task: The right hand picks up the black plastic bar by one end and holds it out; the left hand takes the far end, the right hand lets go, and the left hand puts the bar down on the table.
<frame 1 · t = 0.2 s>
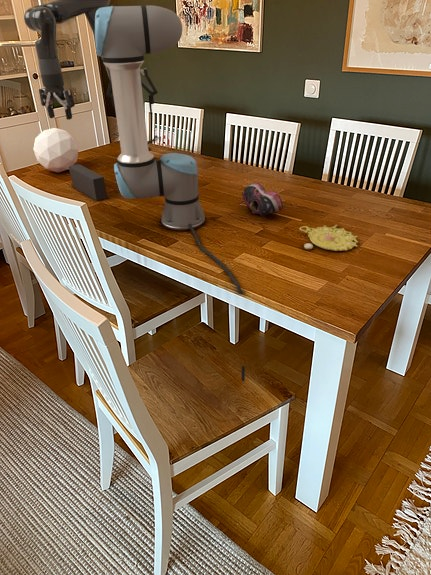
left hand: (60, 118, 170), 29 cm above the table, tool pointing down, fingers open, 8 cm apart
right hand: (134, 114, 180), 28 cm above the table, tool pointing down, fingers open, 13 cm apart
decorative object: (328, 239, 142), on the table
sphere: (60, 170, 210), on the table
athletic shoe: (257, 211, 163), on the table
bar: (89, 192, 184), on the table
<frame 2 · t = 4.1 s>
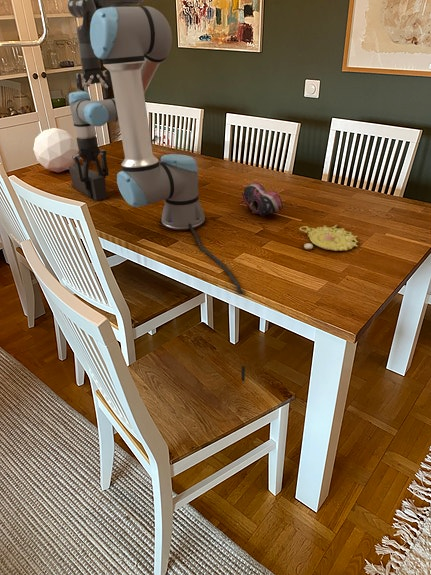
left hand: (96, 99, 185), 32 cm above the table, tool pointing down, fingers open, 8 cm apart
right hand: (96, 195, 179), 1 cm above the table, tool pointing down, fingers closed on bar, 5 cm apart
bar: (89, 192, 184), on the table, touching right hand
everything else where it was.
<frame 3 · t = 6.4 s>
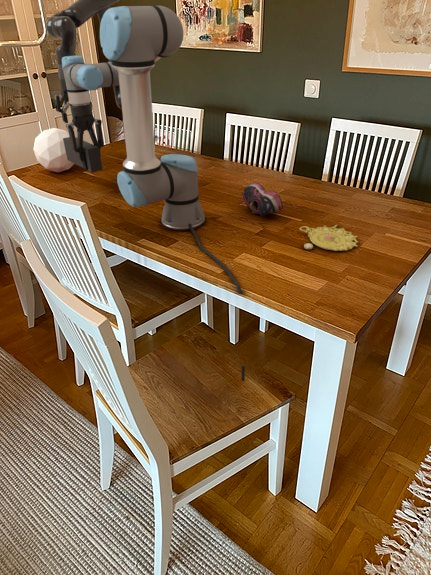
left hand: (76, 121, 178), 26 cm above the table, tool pointing down, fingers open, 8 cm apart
right hand: (91, 167, 173), 12 cm above the table, tool pointing down, fingers closed on bar, 5 cm apart
bar: (84, 164, 178), point 12 cm above the table, touching right hand
everything else where it was.
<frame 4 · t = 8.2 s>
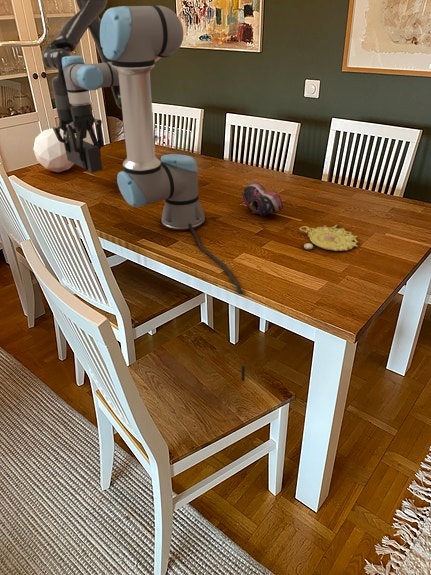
left hand: (74, 150, 181), 16 cm above the table, tool pointing down, fingers closed on bar, 4 cm apart
right hand: (91, 167, 173), 12 cm above the table, tool pointing down, fingers closed on bar, 5 cm apart
bar: (84, 164, 178), point 11 cm above the table, touching right hand, left hand
everything else where it was.
when the right hand's fingers open (12 cm above the table, at t = 8.9 s): bar stays where it is, held by the left hand.
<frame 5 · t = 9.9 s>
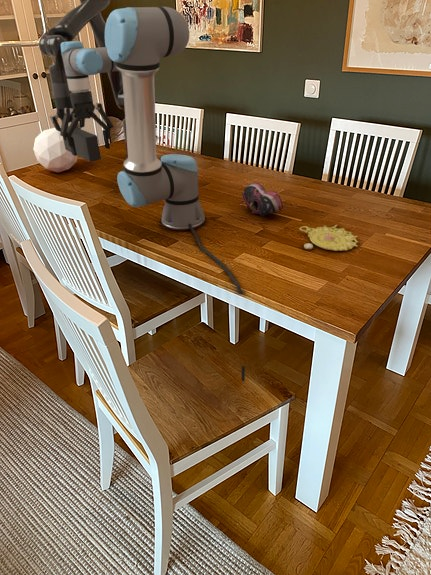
left hand: (73, 139, 178), 20 cm above the table, tool pointing down, fingers closed on bar, 4 cm apart
right hand: (91, 151, 168), 19 cm above the table, tool pointing down, fingers open, 13 cm apart
bar: (82, 154, 176), point 16 cm above the table, touching left hand
everything else where it was.
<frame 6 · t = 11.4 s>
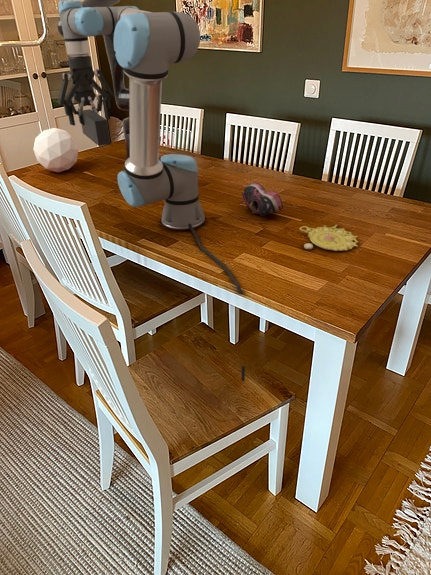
left hand: (89, 123, 177), 26 cm above the table, tool pointing down, fingers closed on bar, 4 cm apart
right hand: (90, 121, 159), 30 cm above the table, tool pointing down, fingers open, 13 cm apart
bar: (96, 138, 174), point 21 cm above the table, touching right hand, left hand
everything else where it was.
when the left hand's fingers open (6 cm above the table, at t = 16.9 s): bar stays where it is, on the table.
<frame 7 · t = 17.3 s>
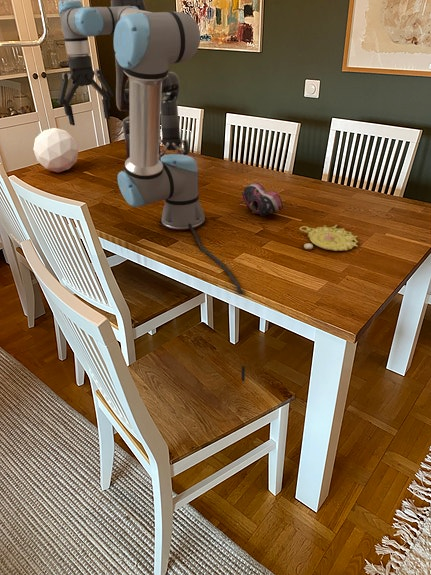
left hand: (173, 163, 194), 6 cm above the table, tool pointing down, fingers open, 8 cm apart
right hand: (90, 121, 159), 30 cm above the table, tool pointing down, fingers open, 13 cm apart
bar: (165, 183, 191), on the table
everything else where it was.
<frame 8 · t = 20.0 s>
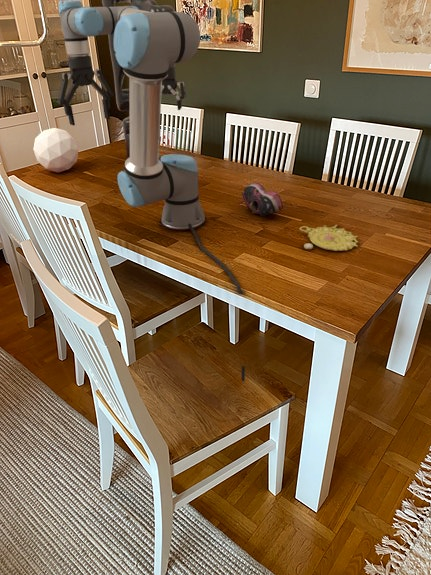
left hand: (169, 109, 182), 29 cm above the table, tool pointing down, fingers open, 8 cm apart
right hand: (90, 121, 159), 30 cm above the table, tool pointing down, fingers open, 13 cm apart
nothing on the table moved.
at the end: bar inside the target area (8.4 cm from its centre), on the table; the left hand is holding nothing; the right hand is holding nothing; bar at rest at the end (0.0 cm/s) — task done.
